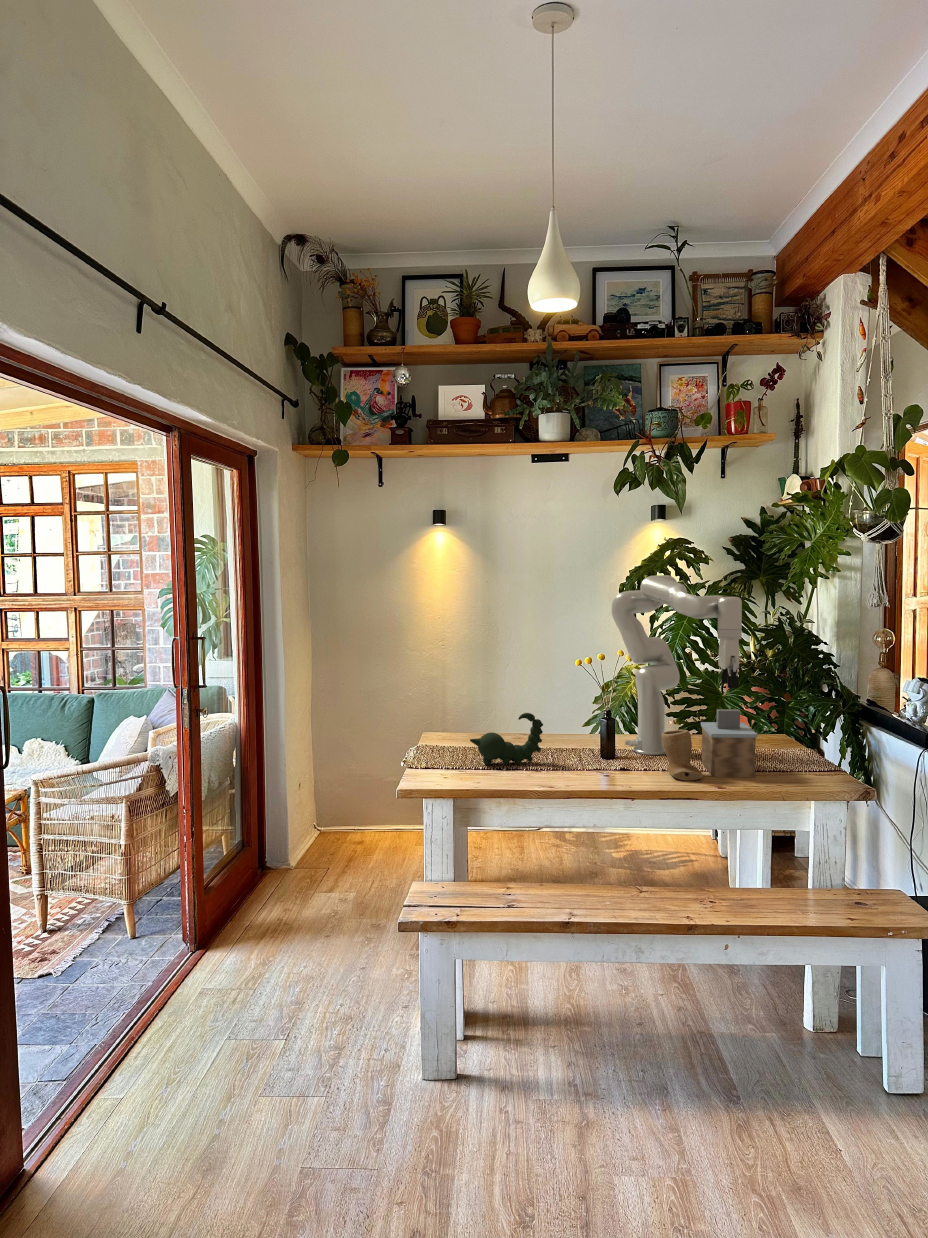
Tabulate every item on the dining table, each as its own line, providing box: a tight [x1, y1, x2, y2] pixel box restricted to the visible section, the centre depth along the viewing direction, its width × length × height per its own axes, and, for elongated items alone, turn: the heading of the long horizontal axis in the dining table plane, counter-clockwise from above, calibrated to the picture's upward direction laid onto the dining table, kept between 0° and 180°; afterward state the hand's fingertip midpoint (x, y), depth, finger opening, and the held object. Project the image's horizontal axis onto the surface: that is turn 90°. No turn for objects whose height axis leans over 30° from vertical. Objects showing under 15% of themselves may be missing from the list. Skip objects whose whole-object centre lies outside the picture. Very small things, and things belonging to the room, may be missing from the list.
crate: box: [701, 727, 757, 778], centre depth 283 cm, size 14×18×13 cm
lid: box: [700, 708, 758, 739], centre depth 283 cm, size 14×18×7 cm
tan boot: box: [661, 729, 704, 782], centre depth 277 cm, size 15×12×15 cm
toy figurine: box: [469, 712, 544, 766], centre depth 295 cm, size 9×19×25 cm
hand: (729, 685), depth 281 cm, fingers open, 9 cm apart
